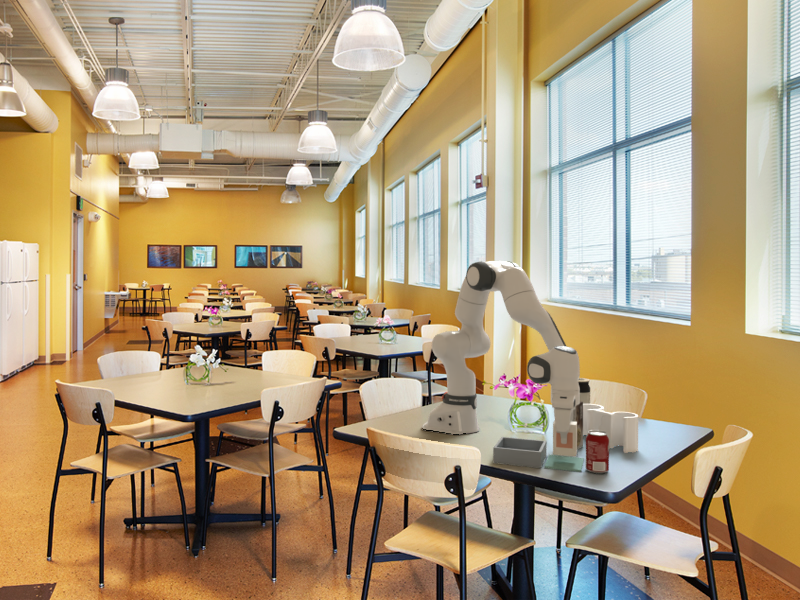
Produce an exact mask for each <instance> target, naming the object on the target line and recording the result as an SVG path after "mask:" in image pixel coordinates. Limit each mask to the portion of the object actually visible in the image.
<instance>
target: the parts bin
mask: <svg viewBox="0 0 800 600" xmlns="http://www.w3.org/2000/svg"><path fill="white" fill-rule="evenodd" d="M492 448H493V456H492V457H493V458H492V459H493V462H492V463H493V464H498V463H499V465H507V464H509V466H516V465H518V466H519V467H525V466H527V468H528V467H529V468H538V469H542V467H543V464H544V463H545V460H546V457H547V440H543V439H542V440H540V439H532V438H531V439H530V438H520V437H519V438H517V437H507V436H500V438H499V440H498V441H497V442H496V444H495V445H493V447H492Z"/></svg>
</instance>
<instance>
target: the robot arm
mask: <svg viewBox="0 0 800 600" xmlns="http://www.w3.org/2000/svg"><path fill="white" fill-rule="evenodd" d="M490 292H500V293H501V296H502V300H503V303H504V306H505V309H506V311H507V313H508V315H509V317H510V318H511V320H513V321H514V322H517V323H518V324H521V325H524V326H527V327H530V328H532V329H533V330H535V331H537V333H538V334H540V336H541V337H542V339H543V341H544V343H545V345H546V347H547V350H548V351H547V352H544V353H542V354H537V355H534V356H532V357H531V358H529V360H528V362H527V366H526V371H527V372H526V373H527V375H528V378H529V379H530V380H531V382H533V383H534V384H539V385H544V384H545V385H546V384H549V385H550V403H551V406H552V408H553V413H554V414H553V415H554V420H555V428H556V432H557V433H560V436H561V443H562V444H566V443H567V434H568V432H569V429H570V424H571V421H573V410H574V409H575V406H576V405H578V404H579V403H580V388H579V384H578V380H579V378H580V376H581V375H580V374H581V372H580V370H581V369H580V368H581V367H580V358H579V357H580V356H579V353H578V351H577V349H575V348H573V347H571V346H567V345H566V342H565V341H564V339H563V336H562V335H561V332H560V330H559V329H558V326H557V325H556V323H555V320H554V319H553V317H552V315H551V313H549V312H548V311H547V310H546V309H545V308H544V307H543V305H542V304H541V302H540V300H539V298H538V296H537V294H536V291H535V289H534V286H533V283H532V282H531V279H530V277H529V276H528V275H527V272H526V270H524V269H523V268H521V266H520V265H519V264H518V263H515V262H512V261H508V260H507V261H505V260H489V261H488V260H487V261H482V260H481V261H476V262H473V263H471V264H469V266H468V268H467V271H466V274H465V277H464V279H463V281H462V284H461V287H460V290H459V294H458V297H457V301H456V306H455V310H454V315H455V317H456V319H457V320H458V322H460V323H461V328H460V329H459V330H449V331H448V330H446V331H443V332H440V333H437V334H436V335H435V336H433V339H432V340H431V351H432V352H433V354H434V356H435V357H436V358H437V359H439V361H440V362H441V364H442V365H443V367H444V370H445V373H446V374H445V375H446V383H447V385H446V388H447V390H446V391H445V392H444V393H443V394H442V396H441V400H442V402H441V403H440V404H438V405H437V406H436V407H434V408H433V409H432V410H430V412H429V414H428V417H427V421H426V422H424V423H423V424H422V426H421V429H422V428H423V429H428V430H434V431H440V432H446V433H452V434H451V435H453V434H459V435H464V434H463V433H466V434H473V433H476V432H479V431H480V430H481V429H480V426H479V421H478V416H477V415H478V413H477V407H478V398H477V393H476V386H477V385H476V374H475V372H474V371H473V370H472V369H470V368H469V367H468V366H467V363H466V359H469V358H472V359H473V358H478V357H481V356H484V355H485V354H487V353H488V352H489V351H490V348H491V340H490V337H489V334H488V333H487V332H486V331H485V328H484V317H485V314H486V313H485V311H486V308H487V304H488V300H489V294H490ZM423 429H422V430H423ZM446 433H445V434H446Z"/></svg>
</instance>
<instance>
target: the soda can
mask: <svg viewBox="0 0 800 600" xmlns="http://www.w3.org/2000/svg"><path fill="white" fill-rule="evenodd" d="M609 467H610V448H609V438H608V437H607V433H606V432H604V431H599V430H591V431H588V435H587V436H585V470H587V471H588V472H590V473H593V474H596V473H597V474H598V475H603V474H605V473H608V472H609V470H610V469H609ZM597 474H596V475H597Z"/></svg>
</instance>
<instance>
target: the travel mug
mask: <svg viewBox="0 0 800 600" xmlns="http://www.w3.org/2000/svg"><path fill="white" fill-rule="evenodd" d="M590 380H591V379H589V378H585V377H579V380H578V384H579V388H580V402H583V404H591V386H590V385H589V383H590Z"/></svg>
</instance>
